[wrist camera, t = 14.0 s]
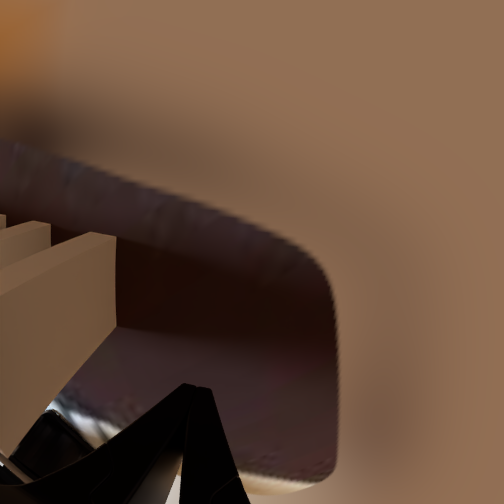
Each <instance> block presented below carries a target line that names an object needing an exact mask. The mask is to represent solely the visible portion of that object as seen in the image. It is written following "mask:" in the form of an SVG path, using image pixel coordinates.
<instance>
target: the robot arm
mask: <svg viewBox="0 0 504 504" xmlns="http://www.w3.org/2000/svg"><path fill="white" fill-rule="evenodd" d="M182 459H183V460H182ZM0 461H1V462H2V463H3V464H4V465H3V466H1V465H0V504H165V503H166V500H167V497H168V495H169V492H170V490H171V487H172V485H173V482H174V479H175V477H176V474H177V472H178V469H179V467H180V464H181V462H182V471H181V484H180V498H179V504H251V503H250V501H249V499H248V497H247V494H246V492H245V490H244V487H243V484H242V482H241V479H240V477H239V474H238V471H237V468H236V465H235V463H234V460H233V457H232V454H231V451H230V448H229V445H228V442H227V439H226V436H225V433H224V429H223V426H222V423H221V420H220V417H219V413H218V410H217V407H216V403H215V400H214V396H213V393H212V390H211V389H210V388H205V387H200V386H199V387H196V386H195V385H191V384H186V383H183V384H181V385H180V386H179V387H178V388H176V389H175V390H174V391H173V392H171V393H170V394H169V395H168V396H166V397H165V398H164V399H163V400H161V401H160V402H159V403H158V404H156V405H155V406H154V407H152V408H151V409H150V410H149V411H147V412H146V413H145V414H143V415H142V416H141V417H139V418H138V419H137V420H135V421H134V422H133V423H132V424H130V425H129V426H128V427H126V428H125V429H123V430H122V431H121V432H119V433H118V434H117V435H115V436H114V437H113V438H111V439H110V440H108V441H107V444H106V443H104V444H103V445H101V446H100V447H99V448H97V449H96V450H94V449H92V448H91V447H90V446H89V445H88V444H87V443H85V442H84V441H83V440H82V439H81V438H80V437H79V436H78V435H77V434H76V433H74V432H73V431H72V430H71V429H70V428H69V427H68V426H67V425H66V424H65V423H64V422H63V421H62V420H61V419H60V418H59V417H58V416H57V415H56V414H55V413H54V412H53V411H52V410H47V411H44V412H43V413H42V414H41V416H40V417H39V418H38V419H37V421H36V422H35V423H34V424H33V426H32V427H31V428H30V430H29V431H28V432H27V434H26V435H25V436H24V437H23V439H22V440H21V441H20V443H19V444H18V445H17V447H16V448H15V450H14V451H13V452H12V454H11V455H10V456H9V458H6V457H5V456H4V455H2V454H1V453H0ZM10 470H11V471H10Z"/></svg>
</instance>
